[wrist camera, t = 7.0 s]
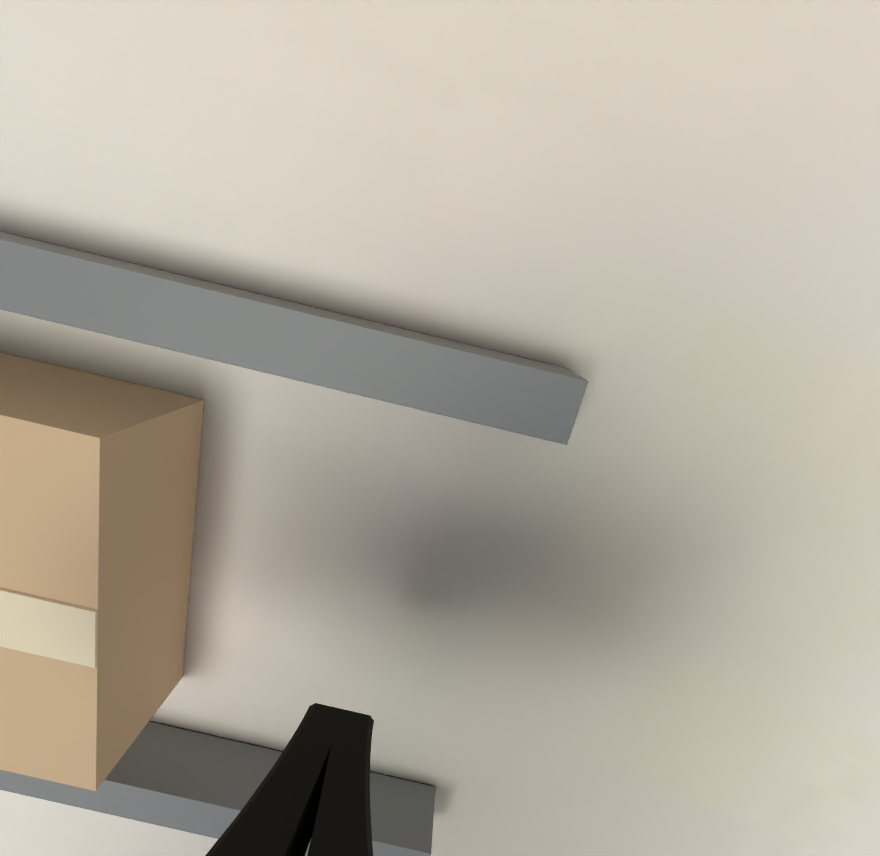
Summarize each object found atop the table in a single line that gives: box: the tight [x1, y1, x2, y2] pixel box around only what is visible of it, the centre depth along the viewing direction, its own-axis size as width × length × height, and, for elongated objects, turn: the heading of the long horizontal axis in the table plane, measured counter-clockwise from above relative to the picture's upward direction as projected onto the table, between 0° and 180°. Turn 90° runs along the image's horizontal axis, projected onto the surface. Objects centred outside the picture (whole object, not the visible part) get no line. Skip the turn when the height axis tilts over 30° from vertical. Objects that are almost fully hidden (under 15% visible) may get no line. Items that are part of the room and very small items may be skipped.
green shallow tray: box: [0, 231, 588, 856], centre depth 12 cm, size 20×17×4 cm
